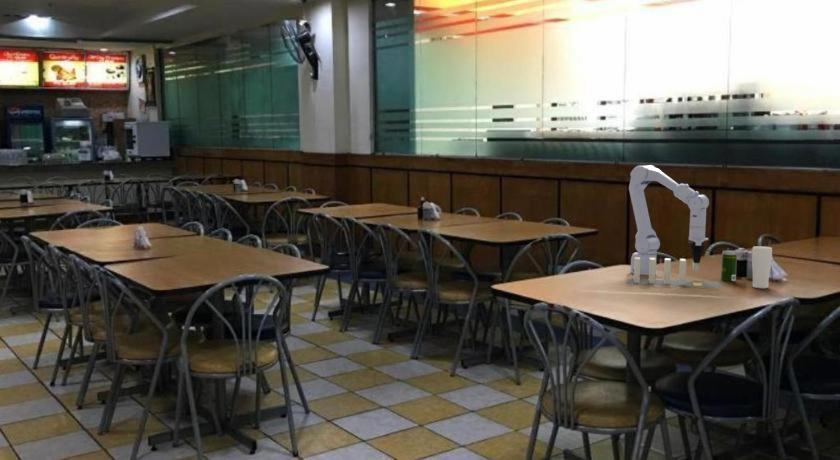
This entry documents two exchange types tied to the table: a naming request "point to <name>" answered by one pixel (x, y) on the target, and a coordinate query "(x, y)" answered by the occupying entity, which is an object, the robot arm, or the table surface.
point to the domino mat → (677, 283)
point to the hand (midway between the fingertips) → (695, 261)
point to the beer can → (728, 266)
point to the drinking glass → (761, 266)
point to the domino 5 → (695, 266)
